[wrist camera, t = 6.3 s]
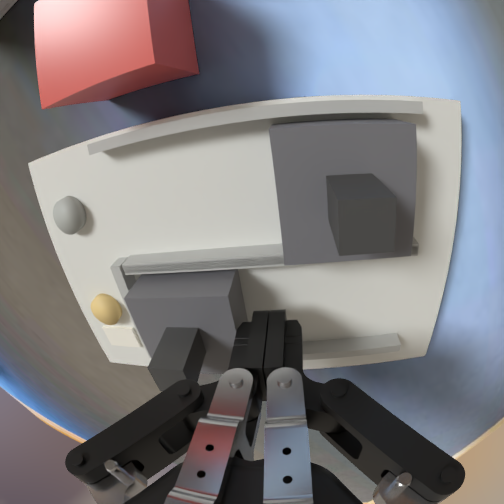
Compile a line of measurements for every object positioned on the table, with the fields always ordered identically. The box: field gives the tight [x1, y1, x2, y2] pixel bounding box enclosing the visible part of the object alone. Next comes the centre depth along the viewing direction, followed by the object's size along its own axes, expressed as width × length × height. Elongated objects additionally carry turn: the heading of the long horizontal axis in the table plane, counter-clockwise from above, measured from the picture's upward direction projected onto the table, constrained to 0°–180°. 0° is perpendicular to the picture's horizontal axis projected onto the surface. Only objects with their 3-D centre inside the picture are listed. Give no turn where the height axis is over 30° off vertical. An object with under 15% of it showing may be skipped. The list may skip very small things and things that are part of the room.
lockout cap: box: [34, 0, 199, 109], centre depth 9 cm, size 5×5×5 cm
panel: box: [28, 95, 461, 369], centre depth 13 cm, size 22×15×7 cm
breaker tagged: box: [124, 269, 248, 391], centre depth 14 cm, size 5×5×5 cm
